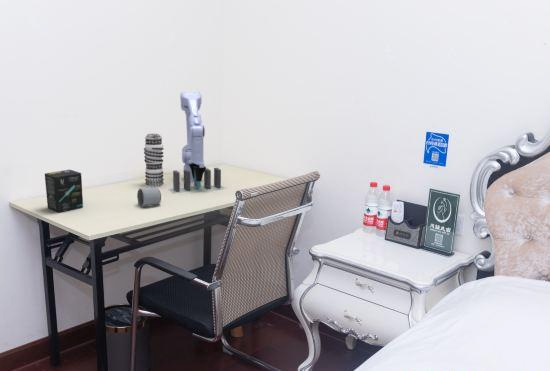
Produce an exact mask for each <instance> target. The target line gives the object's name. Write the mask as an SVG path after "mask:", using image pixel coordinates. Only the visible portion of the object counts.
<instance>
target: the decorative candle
mask: <svg viewBox="0 0 550 371" xmlns="http://www.w3.org/2000/svg"><path fill="white" fill-rule="evenodd" d="M144 139H145V141H144V142H145V144H144V148H143V154H144V163H145V172H144V174H145V175H144V176H145V178H144V181H145V183H144V184H145V188H161V187H163V186H164V179H165V178H164V170H163V169H164V168H163V164H164V159H162V158H164V152H163V150H164V149H165V148H164V145H163V141H162V139H163V137H162V136H161V135H160V134H159V133H147V134H146V136H145V137H144Z"/></svg>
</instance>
